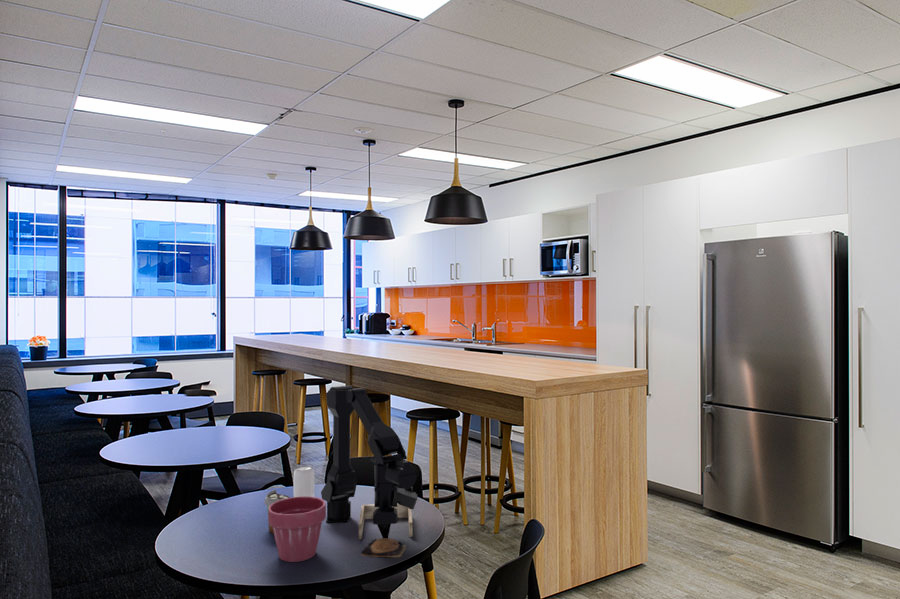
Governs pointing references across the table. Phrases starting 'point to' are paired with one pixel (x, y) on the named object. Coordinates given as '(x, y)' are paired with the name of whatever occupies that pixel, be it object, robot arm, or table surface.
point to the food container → (271, 499)
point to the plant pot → (297, 526)
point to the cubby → (369, 509)
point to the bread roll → (384, 548)
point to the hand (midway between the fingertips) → (385, 539)
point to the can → (304, 481)
